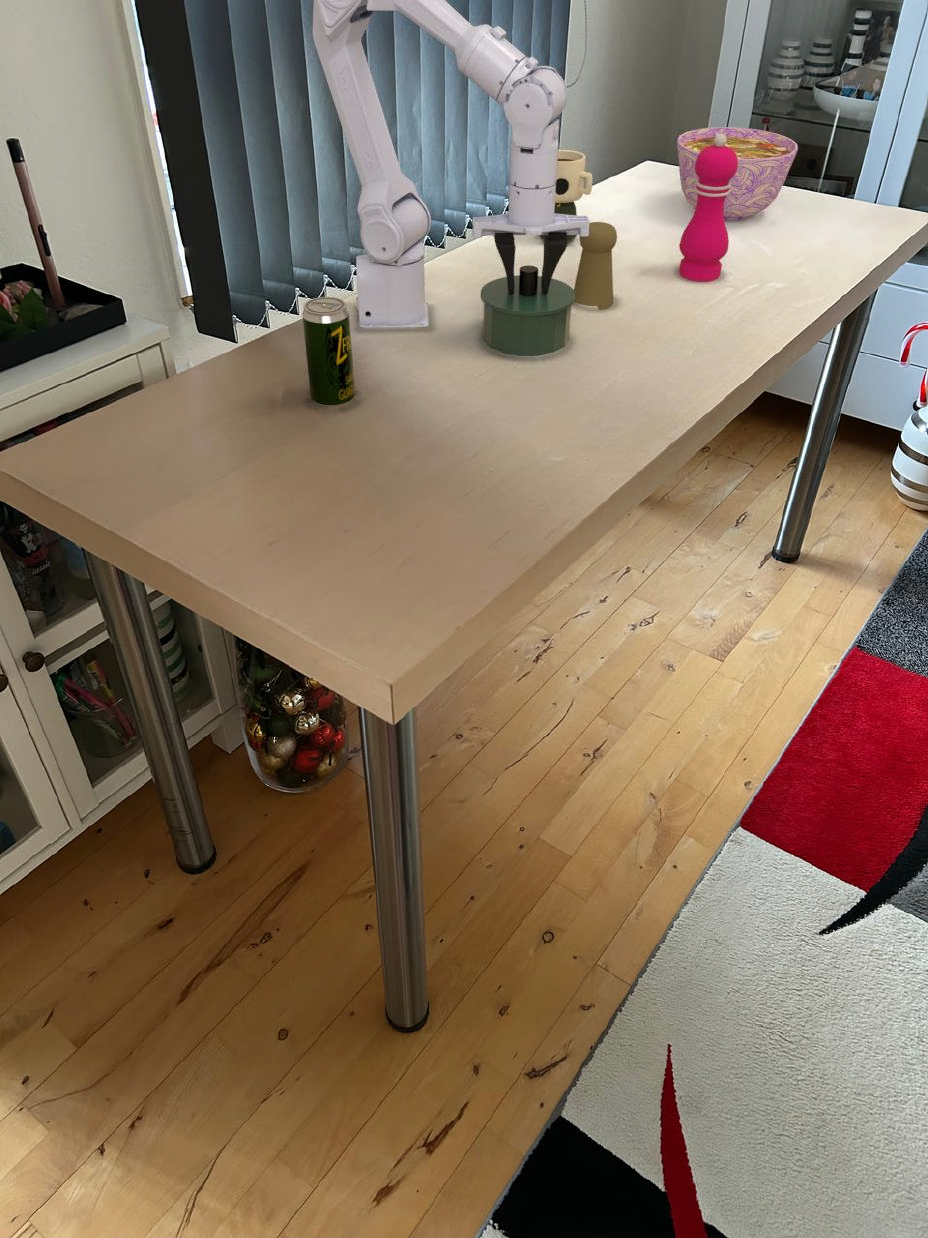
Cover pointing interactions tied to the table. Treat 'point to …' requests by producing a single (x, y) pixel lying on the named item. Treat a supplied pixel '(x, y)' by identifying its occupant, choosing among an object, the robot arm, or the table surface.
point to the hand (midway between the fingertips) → (527, 290)
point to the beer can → (328, 351)
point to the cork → (596, 267)
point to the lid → (527, 295)
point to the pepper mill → (708, 213)
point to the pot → (525, 332)
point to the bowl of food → (740, 167)
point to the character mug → (570, 183)
